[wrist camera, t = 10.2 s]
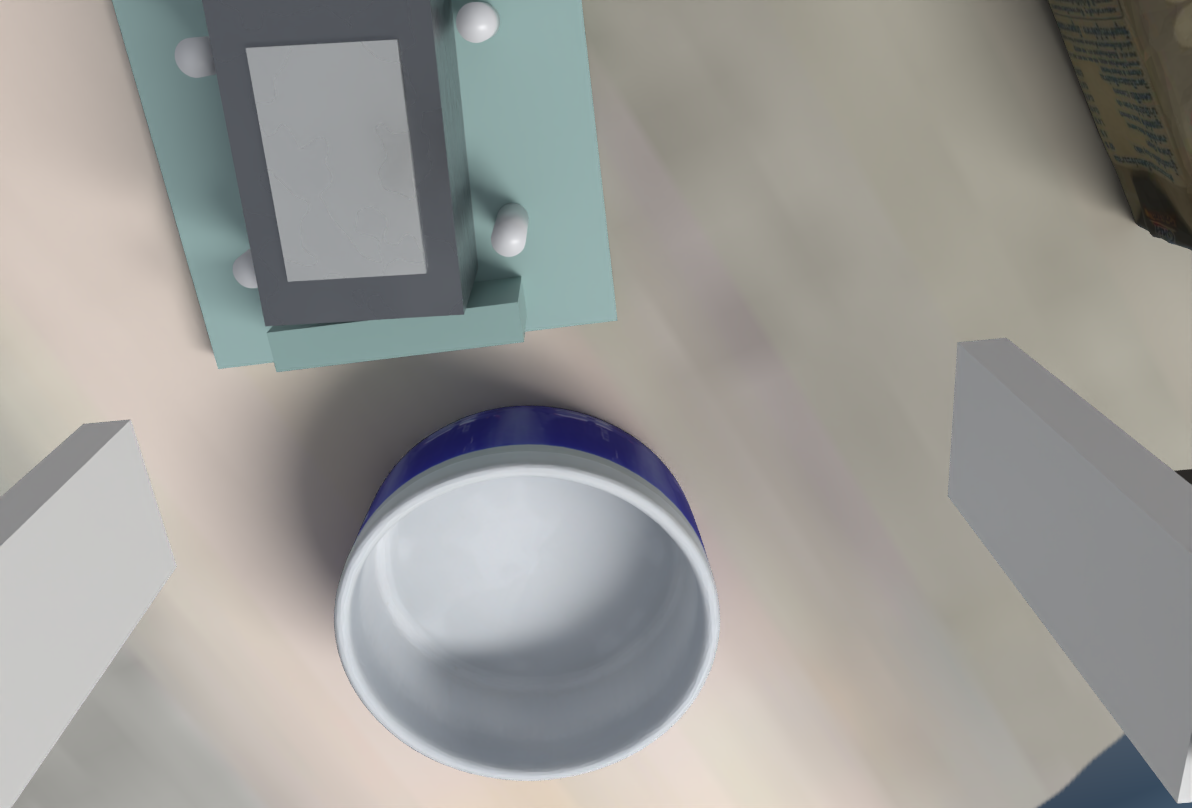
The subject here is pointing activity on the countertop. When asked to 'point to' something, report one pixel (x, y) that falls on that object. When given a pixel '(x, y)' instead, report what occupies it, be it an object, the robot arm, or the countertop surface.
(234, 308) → the pin tray
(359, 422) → the countertop surface
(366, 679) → the dog bowl
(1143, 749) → the robot arm
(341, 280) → the block
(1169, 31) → the beverage carton
